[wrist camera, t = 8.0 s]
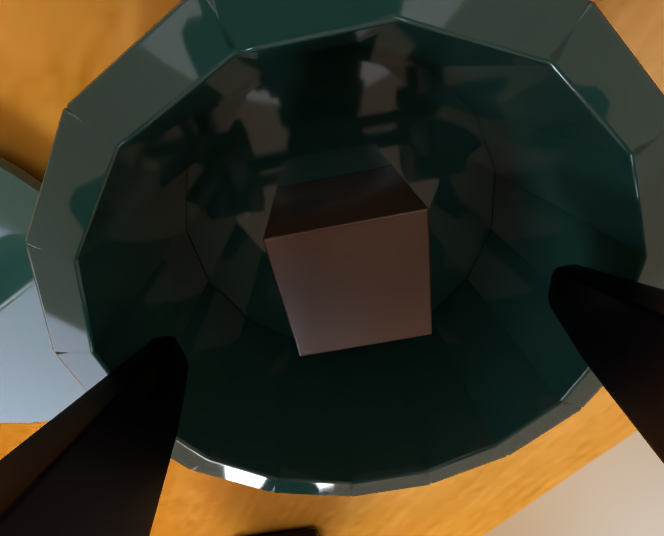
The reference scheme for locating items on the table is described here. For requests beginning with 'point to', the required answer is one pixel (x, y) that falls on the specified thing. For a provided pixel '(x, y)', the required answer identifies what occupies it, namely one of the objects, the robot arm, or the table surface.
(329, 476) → the tin
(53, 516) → the robot arm
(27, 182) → the lid
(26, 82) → the table surface
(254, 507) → the table surface
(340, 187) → the block
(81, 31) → the table surface
